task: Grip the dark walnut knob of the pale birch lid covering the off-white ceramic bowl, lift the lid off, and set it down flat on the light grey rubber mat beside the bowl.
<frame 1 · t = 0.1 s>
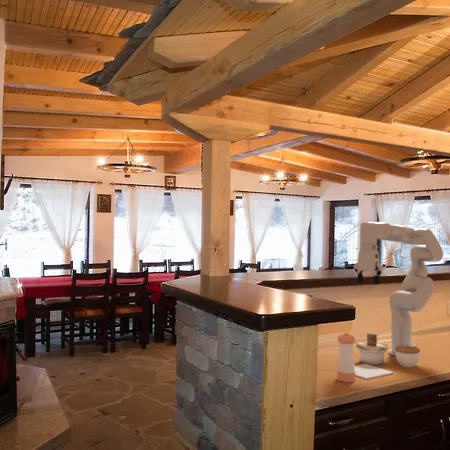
hand: (368, 283, 233), 37 cm above the worktop, tool pointing down, fingers open, 9 cm apart
bowl: (371, 362, 228), on the worktop
lid: (371, 347, 228), point 7 cm above the worktop, touching bowl
pepper shaker: (346, 380, 200), on the worktop
lidded jar: (407, 365, 223), on the worktop
mat: (365, 371, 212), on the worktop
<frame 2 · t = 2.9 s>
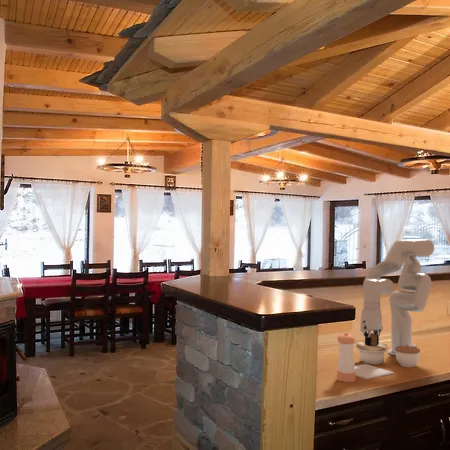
hand: (371, 344, 228), 8 cm above the worktop, tool pointing down, fingers closed on lid, 4 cm apart
lid: (371, 347, 228), point 7 cm above the worktop, touching bowl, gripper
everything else where it was.
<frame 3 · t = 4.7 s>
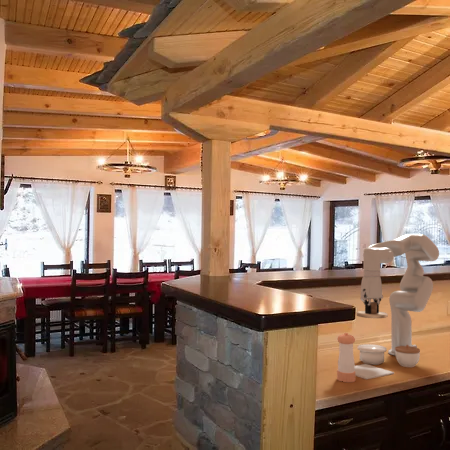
hand: (371, 312, 229), 23 cm above the worktop, tool pointing down, fingers closed on lid, 4 cm apart
lid: (372, 315, 228), point 22 cm above the worktop, touching gripper
everything else where it was.
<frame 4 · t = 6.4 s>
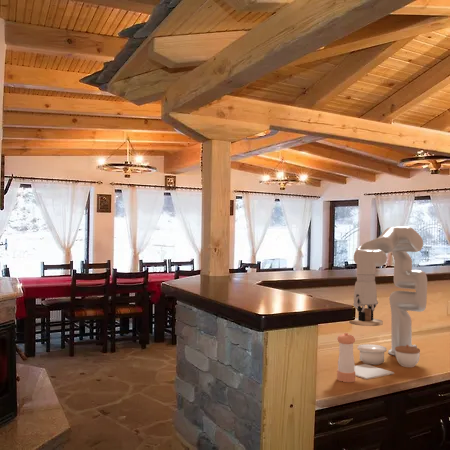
hand: (365, 320, 212), 23 cm above the worktop, tool pointing down, fingers closed on lid, 4 cm apart
lid: (365, 323, 212), point 21 cm above the worktop, touching gripper
everything else where it was.
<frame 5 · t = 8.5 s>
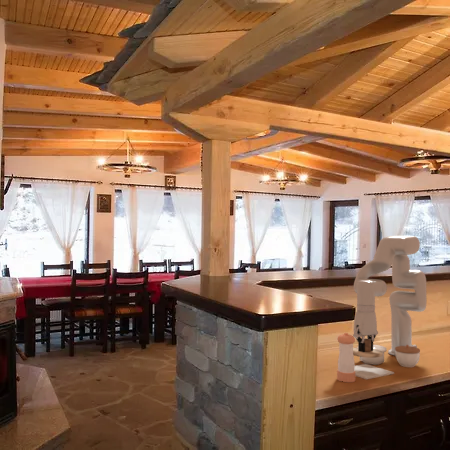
hand: (365, 350, 212), 9 cm above the worktop, tool pointing down, fingers closed on lid, 4 cm apart
lid: (365, 353, 212), point 8 cm above the worktop, touching gripper
everything else where it was.
when the fingers open (4 cm above the worktop, at t = 10.1 s): lid drops 2 cm, resting on mat.
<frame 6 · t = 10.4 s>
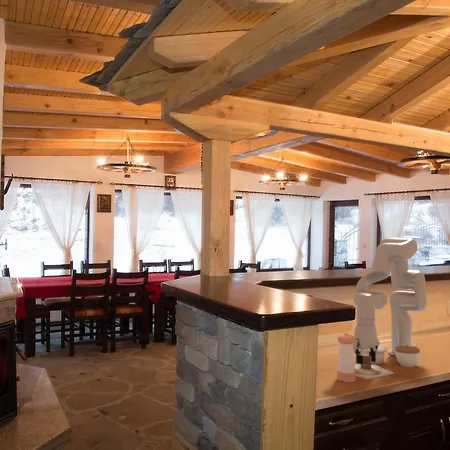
hand: (365, 362, 212), 4 cm above the worktop, tool pointing down, fingers open, 7 cm apart
lid: (366, 370, 212), point 1 cm above the worktop, touching mat
everything else where it was.
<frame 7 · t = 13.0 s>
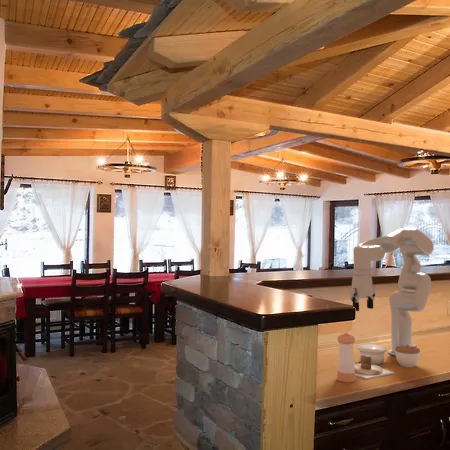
hand: (363, 309, 226), 25 cm above the worktop, tool pointing down, fingers open, 9 cm apart
nothing on the worktop moved.
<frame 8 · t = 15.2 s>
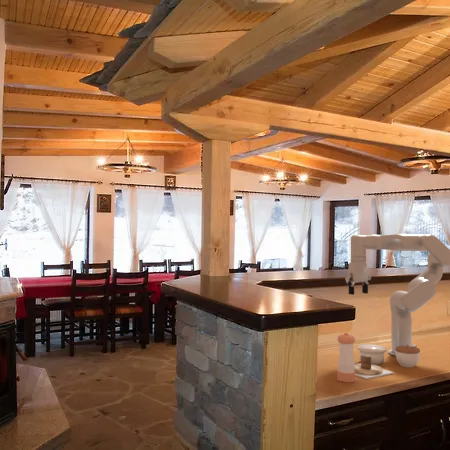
hand: (358, 293, 244), 30 cm above the worktop, tool pointing down, fingers open, 9 cm apart
nothing on the worktop moved.
at the end: lid inside the target area on the mat (0.1 cm from its centre), point 0.6 cm above the mat's base; lid tilted 0°; the gripper is holding nothing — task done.
